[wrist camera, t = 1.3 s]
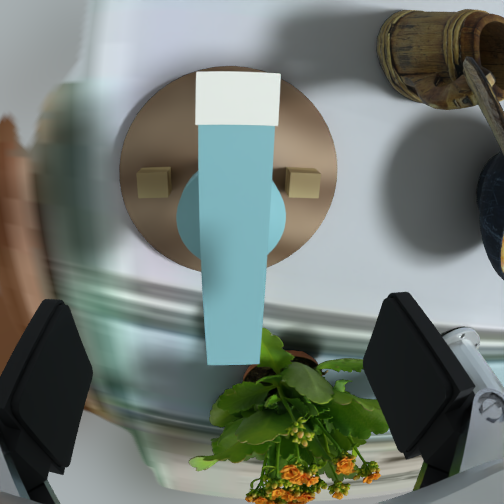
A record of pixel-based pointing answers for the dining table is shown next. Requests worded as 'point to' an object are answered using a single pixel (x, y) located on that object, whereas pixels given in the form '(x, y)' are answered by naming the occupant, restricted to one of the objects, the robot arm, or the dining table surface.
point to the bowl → (492, 211)
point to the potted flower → (294, 426)
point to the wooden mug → (447, 60)
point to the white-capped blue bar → (233, 208)
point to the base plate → (186, 165)
